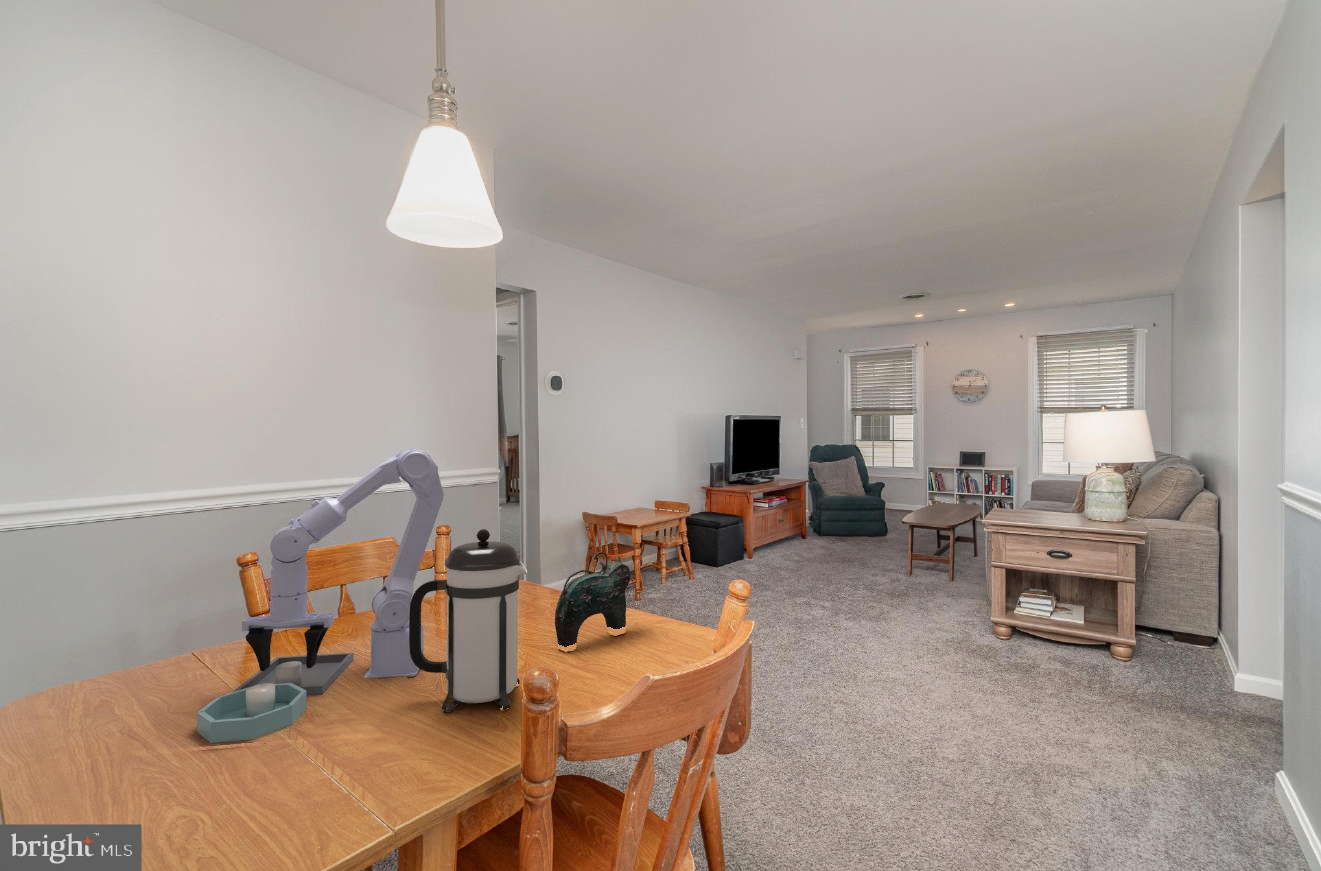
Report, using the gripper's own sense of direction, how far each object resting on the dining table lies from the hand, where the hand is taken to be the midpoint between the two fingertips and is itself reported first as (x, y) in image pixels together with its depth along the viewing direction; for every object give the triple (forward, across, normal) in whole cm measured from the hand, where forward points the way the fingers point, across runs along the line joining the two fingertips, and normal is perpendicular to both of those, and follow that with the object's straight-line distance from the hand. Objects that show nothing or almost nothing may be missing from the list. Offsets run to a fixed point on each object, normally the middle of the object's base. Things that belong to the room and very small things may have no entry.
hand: (288, 667), depth 107 cm
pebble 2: (+4, 0, 0) cm, 4 cm away
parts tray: (+4, 0, -4) cm, 6 cm away
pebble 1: (+3, 0, +10) cm, 11 cm away
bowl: (+4, 0, +12) cm, 13 cm away
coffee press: (+4, -34, +10) cm, 36 cm away
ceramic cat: (+4, -57, -16) cm, 59 cm away
